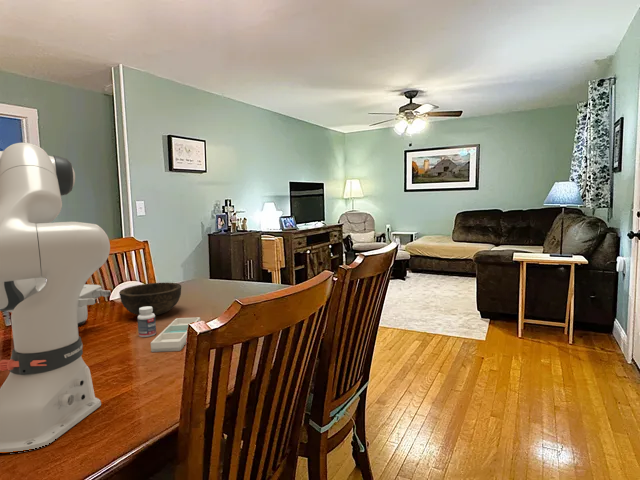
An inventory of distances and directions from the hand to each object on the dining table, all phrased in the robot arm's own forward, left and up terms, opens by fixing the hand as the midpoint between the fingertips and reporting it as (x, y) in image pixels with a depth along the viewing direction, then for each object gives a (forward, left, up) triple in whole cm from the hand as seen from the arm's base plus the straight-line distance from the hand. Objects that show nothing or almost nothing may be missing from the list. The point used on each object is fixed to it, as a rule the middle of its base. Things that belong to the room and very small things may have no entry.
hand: (102, 297), depth 129 cm
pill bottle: (0, -13, -13) cm, 19 cm away
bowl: (+24, -6, -13) cm, 28 cm away
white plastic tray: (-4, -24, -13) cm, 28 cm away
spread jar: (+12, +19, -13) cm, 26 cm away
